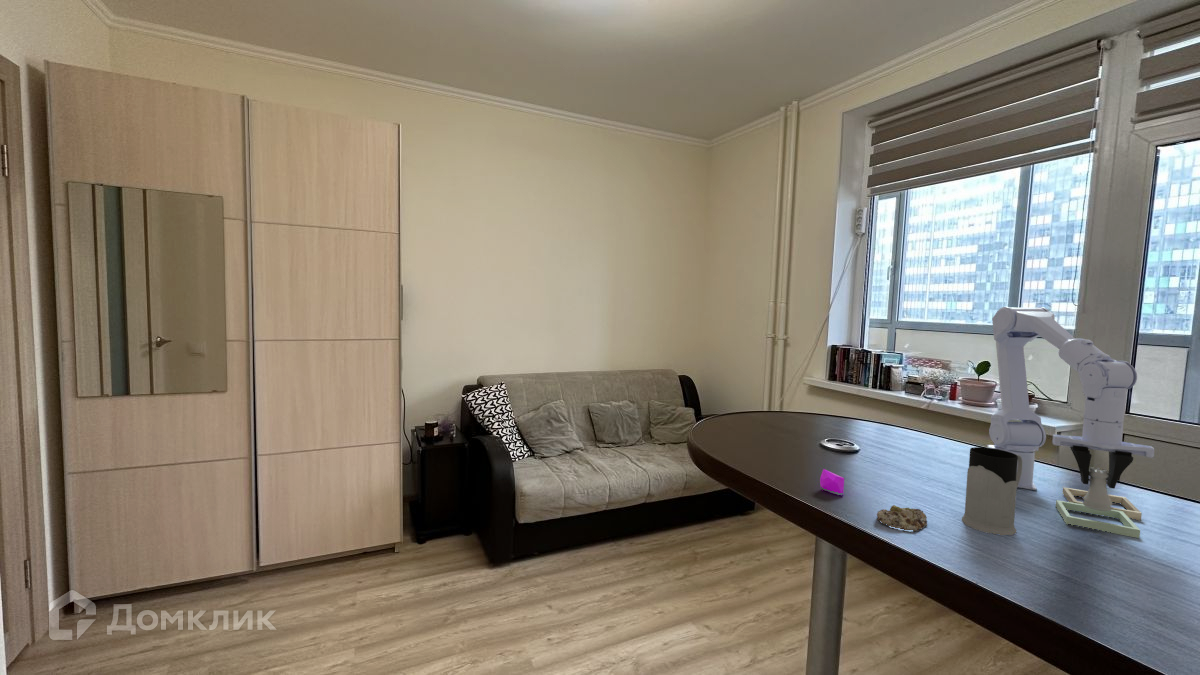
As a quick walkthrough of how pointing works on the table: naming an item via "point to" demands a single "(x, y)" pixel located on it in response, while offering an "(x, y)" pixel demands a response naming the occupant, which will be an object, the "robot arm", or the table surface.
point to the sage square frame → (1126, 530)
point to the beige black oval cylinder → (992, 490)
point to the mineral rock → (903, 518)
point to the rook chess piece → (1098, 491)
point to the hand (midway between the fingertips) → (1097, 484)
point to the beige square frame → (1131, 509)
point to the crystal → (832, 481)
